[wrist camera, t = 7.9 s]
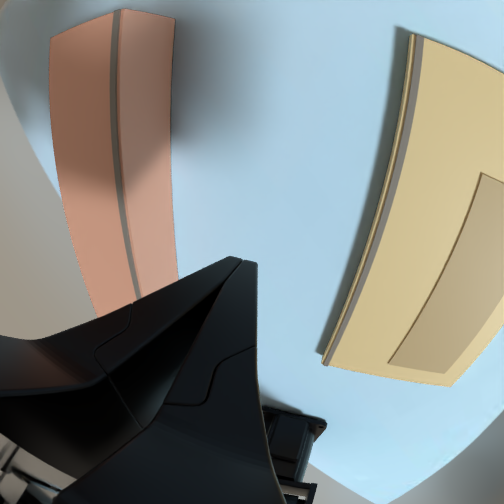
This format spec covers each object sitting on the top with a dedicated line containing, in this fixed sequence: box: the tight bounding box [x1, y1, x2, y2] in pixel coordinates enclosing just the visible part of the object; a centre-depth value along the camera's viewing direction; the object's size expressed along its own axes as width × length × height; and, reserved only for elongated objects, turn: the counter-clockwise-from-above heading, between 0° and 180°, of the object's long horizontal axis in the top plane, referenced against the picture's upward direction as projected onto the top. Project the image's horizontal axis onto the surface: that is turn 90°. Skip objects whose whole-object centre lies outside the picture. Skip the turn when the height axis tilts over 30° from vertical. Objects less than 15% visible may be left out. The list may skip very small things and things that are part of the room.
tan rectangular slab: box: [321, 34, 504, 387], centre depth 11 cm, size 18×10×1 cm, turn 176°
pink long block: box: [49, 9, 178, 318], centre depth 13 cm, size 18×5×4 cm, turn 176°
